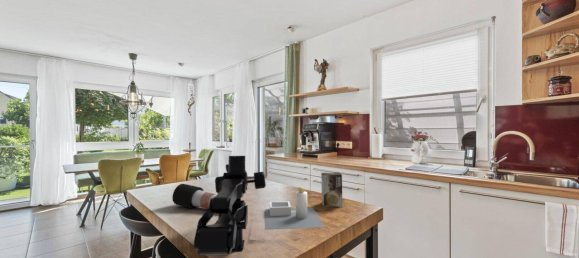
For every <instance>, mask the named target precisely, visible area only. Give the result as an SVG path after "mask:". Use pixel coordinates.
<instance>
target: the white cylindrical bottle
mask: <svg viewBox="0 0 579 258" xmlns="http://www.w3.org/2000/svg"><path fill="white" fill-rule="evenodd" d="M295 208H296V218H299V219H305V218H307V208H308V191H305V186H299V187H298V191H296V192H295Z"/></svg>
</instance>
